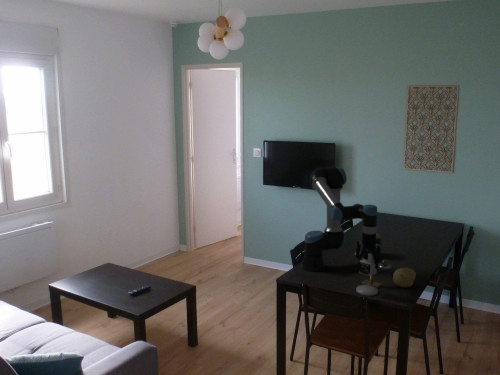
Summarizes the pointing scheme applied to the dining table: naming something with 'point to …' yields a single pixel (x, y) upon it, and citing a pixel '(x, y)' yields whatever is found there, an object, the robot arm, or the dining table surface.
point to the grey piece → (366, 264)
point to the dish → (367, 290)
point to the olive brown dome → (404, 277)
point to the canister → (378, 241)
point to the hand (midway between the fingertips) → (367, 271)
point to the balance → (371, 282)
